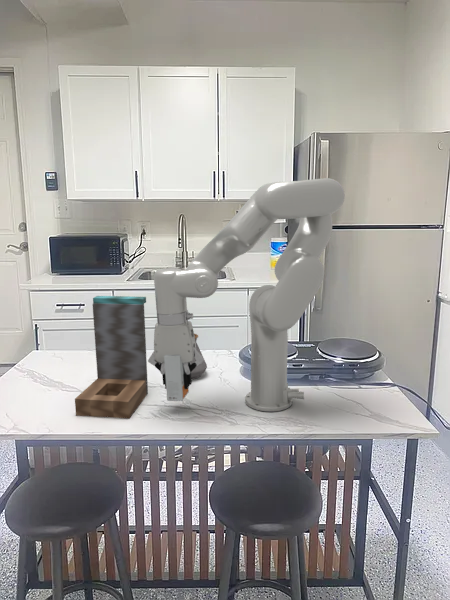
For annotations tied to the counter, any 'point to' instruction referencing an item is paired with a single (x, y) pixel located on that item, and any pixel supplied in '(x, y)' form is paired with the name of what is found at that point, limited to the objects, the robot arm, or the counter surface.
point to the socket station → (117, 359)
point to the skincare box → (175, 378)
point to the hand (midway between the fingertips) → (177, 386)
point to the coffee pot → (201, 367)
